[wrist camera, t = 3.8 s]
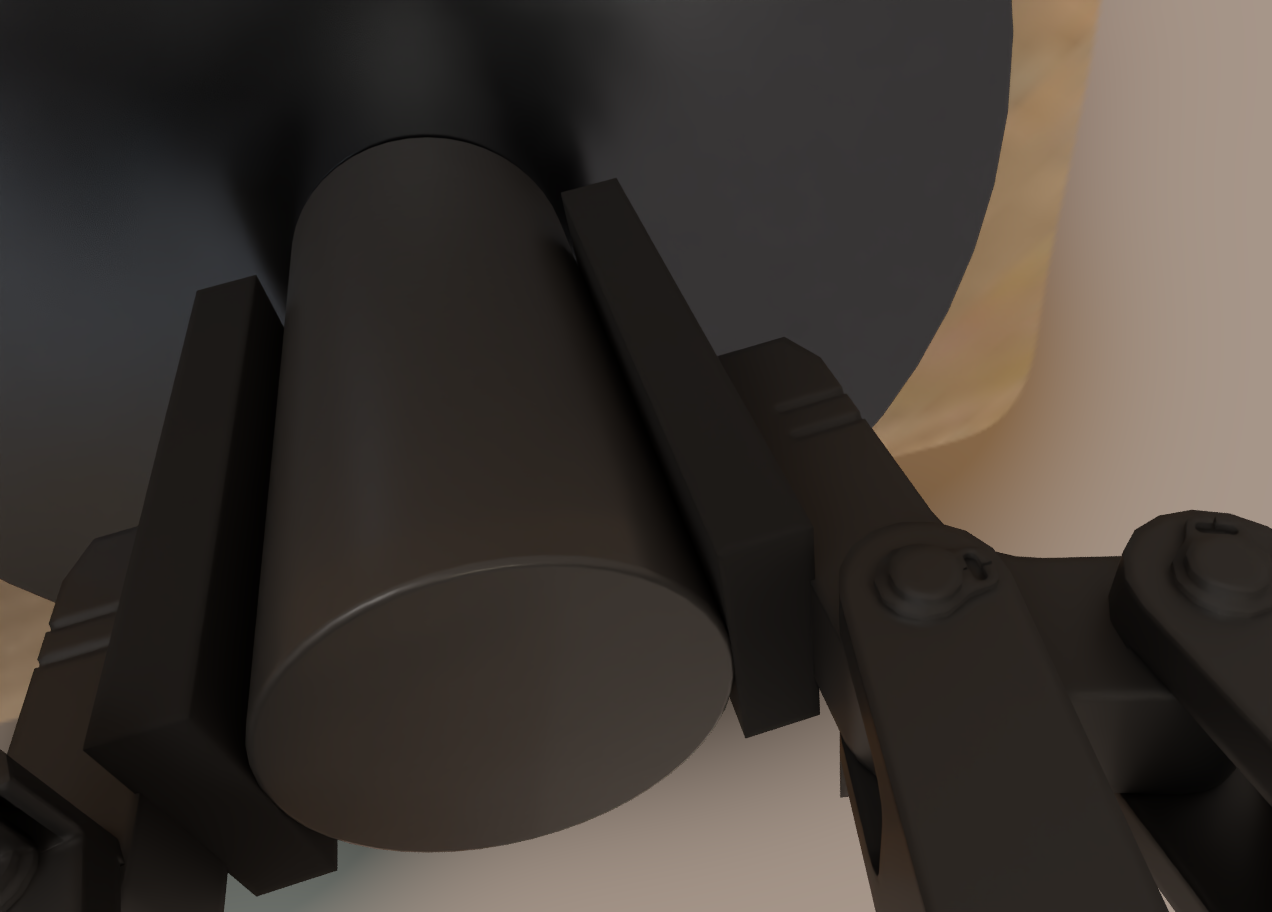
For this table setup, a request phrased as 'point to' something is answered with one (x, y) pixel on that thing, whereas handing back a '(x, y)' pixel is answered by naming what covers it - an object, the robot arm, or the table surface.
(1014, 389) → the table surface
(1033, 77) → the table surface
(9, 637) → the table surface
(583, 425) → the pan lid
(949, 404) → the table surface
